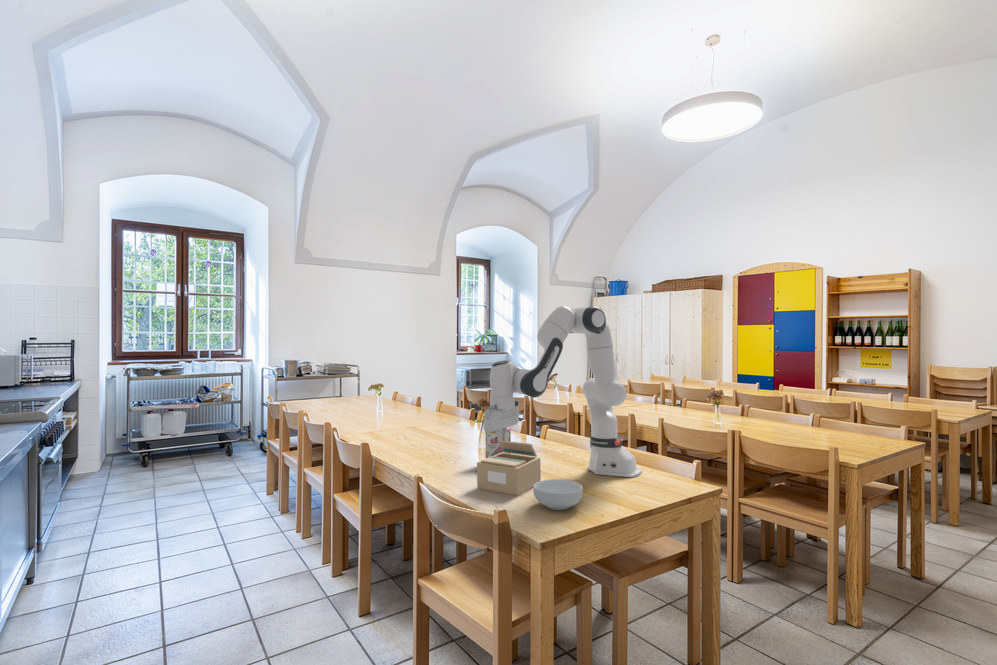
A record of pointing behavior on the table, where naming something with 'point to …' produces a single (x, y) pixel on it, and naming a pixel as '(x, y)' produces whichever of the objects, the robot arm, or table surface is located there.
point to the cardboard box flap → (517, 448)
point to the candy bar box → (495, 443)
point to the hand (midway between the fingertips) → (501, 439)
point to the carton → (509, 475)
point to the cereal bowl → (558, 493)
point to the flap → (503, 461)
